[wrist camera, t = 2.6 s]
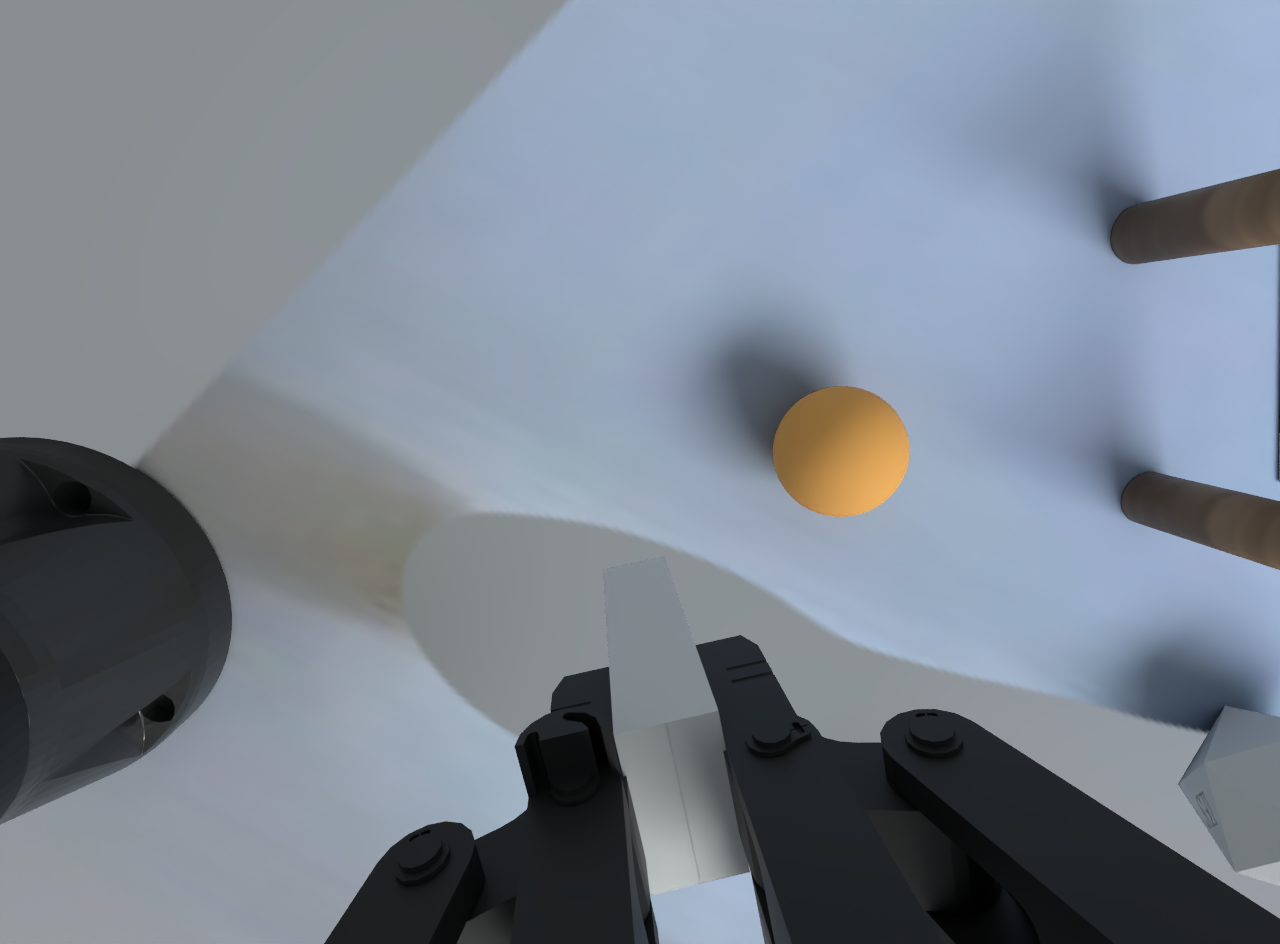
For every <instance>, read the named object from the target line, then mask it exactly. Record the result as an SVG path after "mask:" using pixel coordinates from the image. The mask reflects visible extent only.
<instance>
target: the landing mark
mask: <svg viewBox="0 0 1280 944" xmlns="http://www.w3.org/2000/svg"><path fill="white" fill-rule="evenodd" d="M1279 482H1280V435H1279Z"/></svg>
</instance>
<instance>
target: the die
mask: <svg viewBox="0 0 1280 944" xmlns="http://www.w3.org/2000/svg"><path fill="white" fill-rule="evenodd" d="M1178 785H1179V786H1180V788H1181V789H1182V791H1183V792H1184V794H1185V796H1186V797H1187V799H1188V800H1189V802H1190V803H1191V805H1192V806H1193V808H1194V809H1195V811H1196V813H1197V814H1198V815H1199V817H1200V819H1201V820H1202V822H1203V823H1204V825H1205V826H1206V828H1207V830H1208V831H1209V833H1210V834H1211V836H1212V837H1213V839H1214V840H1215V842H1216V843H1217V845H1218V846H1219V848H1220V850H1221V851H1222V852H1223V854H1224V856H1225V857H1226V859H1227V860H1228V862H1229V863H1230V865H1231V866H1232V868H1233V870H1234V871H1235V872H1236V873H1239V874H1242V875H1245V876H1248V877H1252V878H1255V879H1258V880H1261V881H1265V882H1268V883H1271V884H1274V885H1278V886H1280V717H1277V716H1272V715H1267V714H1263V713H1258V712H1253V711H1248V710H1244V709H1239V708H1234V707H1229V706H1224V708H1223V710H1222V711H1221V713H1220V715H1219V716H1218V718H1217V720H1216V721H1215V723H1214V725H1213V726H1212V728H1211V730H1210V732H1209V733H1208V735H1207V737H1206V738H1205V740H1204V742H1203V743H1202V745H1201V747H1200V748H1199V750H1198V752H1197V753H1196V755H1195V757H1194V758H1193V760H1192V762H1191V763H1190V765H1189V767H1188V768H1187V770H1186V772H1185V773H1184V775H1183V777H1182V779H1181V780H1180V782H1179V784H1178Z"/></svg>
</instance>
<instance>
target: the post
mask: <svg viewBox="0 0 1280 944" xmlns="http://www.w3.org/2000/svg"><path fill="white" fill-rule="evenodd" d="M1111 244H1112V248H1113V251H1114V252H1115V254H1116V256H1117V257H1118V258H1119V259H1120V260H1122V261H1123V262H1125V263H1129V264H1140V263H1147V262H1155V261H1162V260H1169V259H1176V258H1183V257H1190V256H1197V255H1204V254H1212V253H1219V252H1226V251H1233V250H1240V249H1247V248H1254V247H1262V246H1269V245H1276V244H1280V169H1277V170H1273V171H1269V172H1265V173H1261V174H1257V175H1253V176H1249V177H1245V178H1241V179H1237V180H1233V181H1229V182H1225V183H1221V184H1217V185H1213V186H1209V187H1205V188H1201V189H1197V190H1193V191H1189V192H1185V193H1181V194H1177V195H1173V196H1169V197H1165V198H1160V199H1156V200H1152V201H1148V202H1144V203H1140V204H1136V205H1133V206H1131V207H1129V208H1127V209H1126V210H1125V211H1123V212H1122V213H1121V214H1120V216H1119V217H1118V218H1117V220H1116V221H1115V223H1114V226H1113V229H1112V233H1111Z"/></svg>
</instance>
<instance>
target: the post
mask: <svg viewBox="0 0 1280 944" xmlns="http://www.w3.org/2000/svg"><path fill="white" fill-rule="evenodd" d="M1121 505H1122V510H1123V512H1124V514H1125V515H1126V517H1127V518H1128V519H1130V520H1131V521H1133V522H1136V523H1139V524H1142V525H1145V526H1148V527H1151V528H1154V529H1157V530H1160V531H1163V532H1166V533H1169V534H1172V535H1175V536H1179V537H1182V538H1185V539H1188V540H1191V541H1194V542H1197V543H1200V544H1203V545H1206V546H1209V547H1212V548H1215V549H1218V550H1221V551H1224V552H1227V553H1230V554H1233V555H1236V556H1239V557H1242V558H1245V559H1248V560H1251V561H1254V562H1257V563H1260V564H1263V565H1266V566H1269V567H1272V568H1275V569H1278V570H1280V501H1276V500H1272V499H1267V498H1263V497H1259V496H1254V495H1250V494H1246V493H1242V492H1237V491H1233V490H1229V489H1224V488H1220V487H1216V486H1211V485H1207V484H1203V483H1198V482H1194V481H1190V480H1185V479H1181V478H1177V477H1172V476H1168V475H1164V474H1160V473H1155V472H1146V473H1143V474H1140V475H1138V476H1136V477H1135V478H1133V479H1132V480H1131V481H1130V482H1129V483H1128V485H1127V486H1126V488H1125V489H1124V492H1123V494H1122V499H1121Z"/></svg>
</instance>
